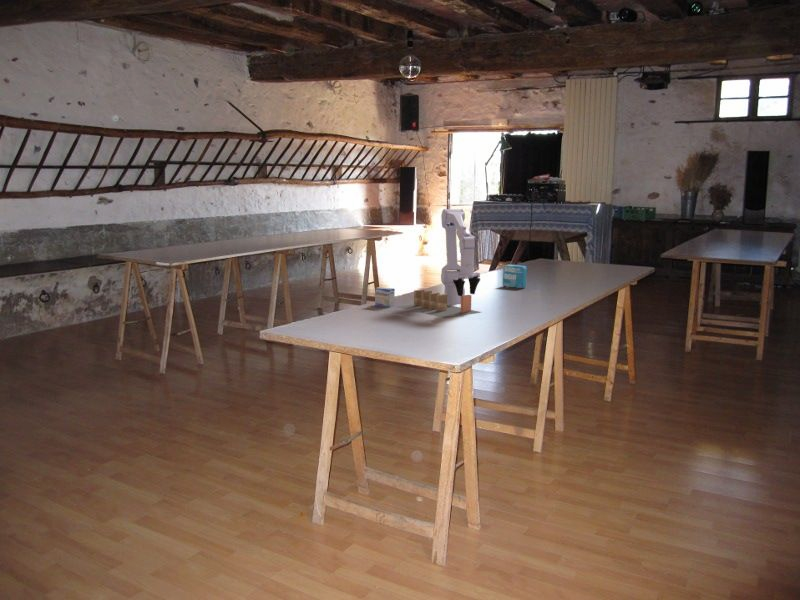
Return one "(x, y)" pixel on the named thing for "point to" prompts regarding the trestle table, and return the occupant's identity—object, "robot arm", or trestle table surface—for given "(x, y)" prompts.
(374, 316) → the trestle table surface
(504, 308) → the trestle table surface
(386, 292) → the medicine box
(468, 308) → the domino
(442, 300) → the domino
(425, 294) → the domino
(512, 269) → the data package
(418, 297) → the domino
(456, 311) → the mat
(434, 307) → the domino
